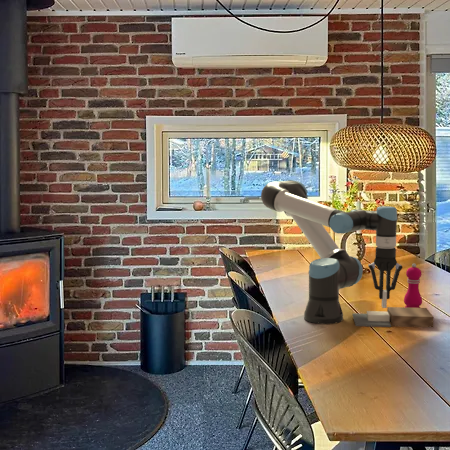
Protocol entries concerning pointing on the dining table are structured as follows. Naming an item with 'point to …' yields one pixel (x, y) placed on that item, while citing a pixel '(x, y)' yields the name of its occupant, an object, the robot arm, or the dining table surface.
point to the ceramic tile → (378, 316)
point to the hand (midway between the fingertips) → (384, 307)
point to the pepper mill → (413, 288)
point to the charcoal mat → (363, 321)
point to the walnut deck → (410, 317)
